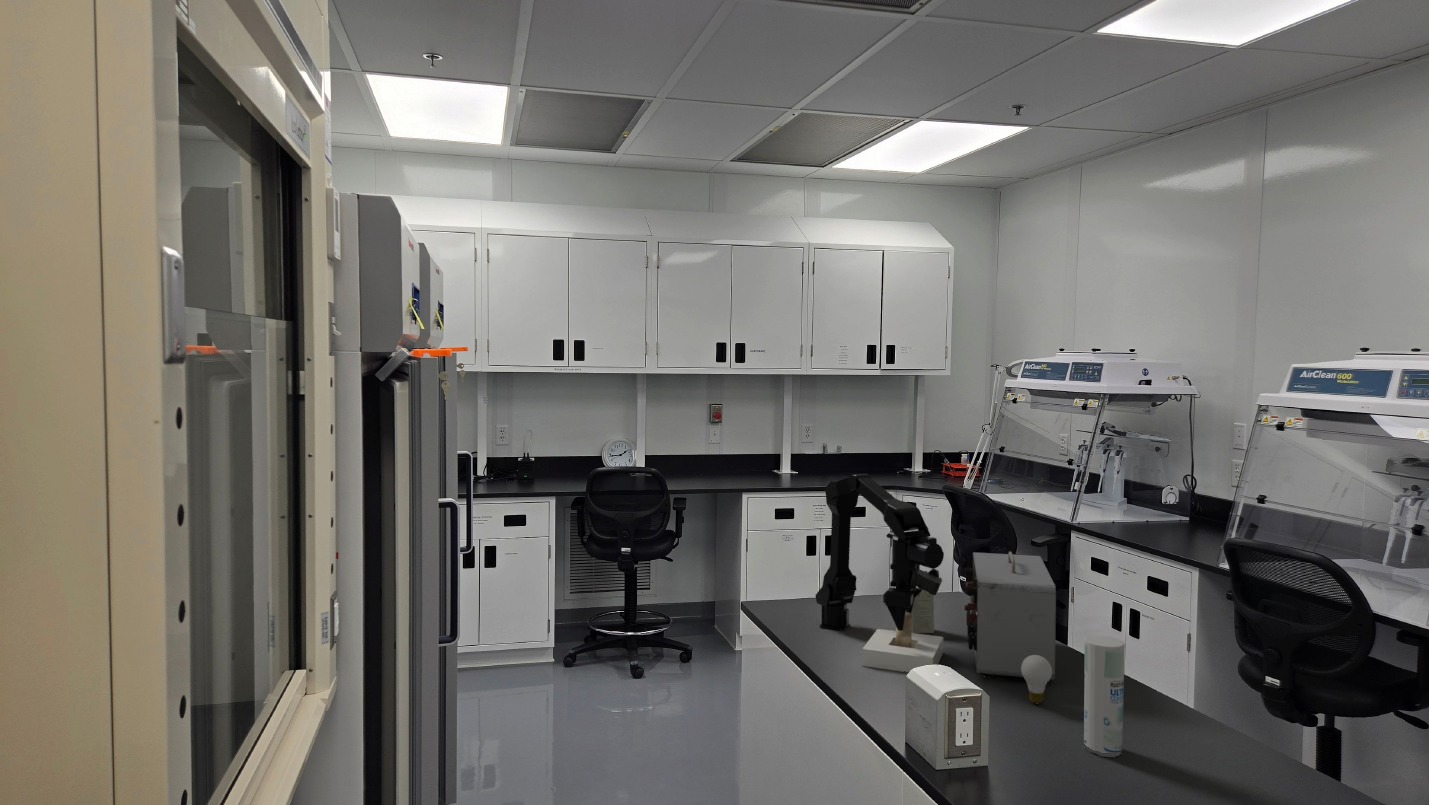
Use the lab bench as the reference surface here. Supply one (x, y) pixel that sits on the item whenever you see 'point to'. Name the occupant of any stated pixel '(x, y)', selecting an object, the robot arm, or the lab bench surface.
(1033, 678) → the light bulb
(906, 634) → the wooden peg
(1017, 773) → the lab bench surface
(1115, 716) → the spray can
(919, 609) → the skincare box
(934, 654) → the socket block
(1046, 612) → the vintage electronic device
